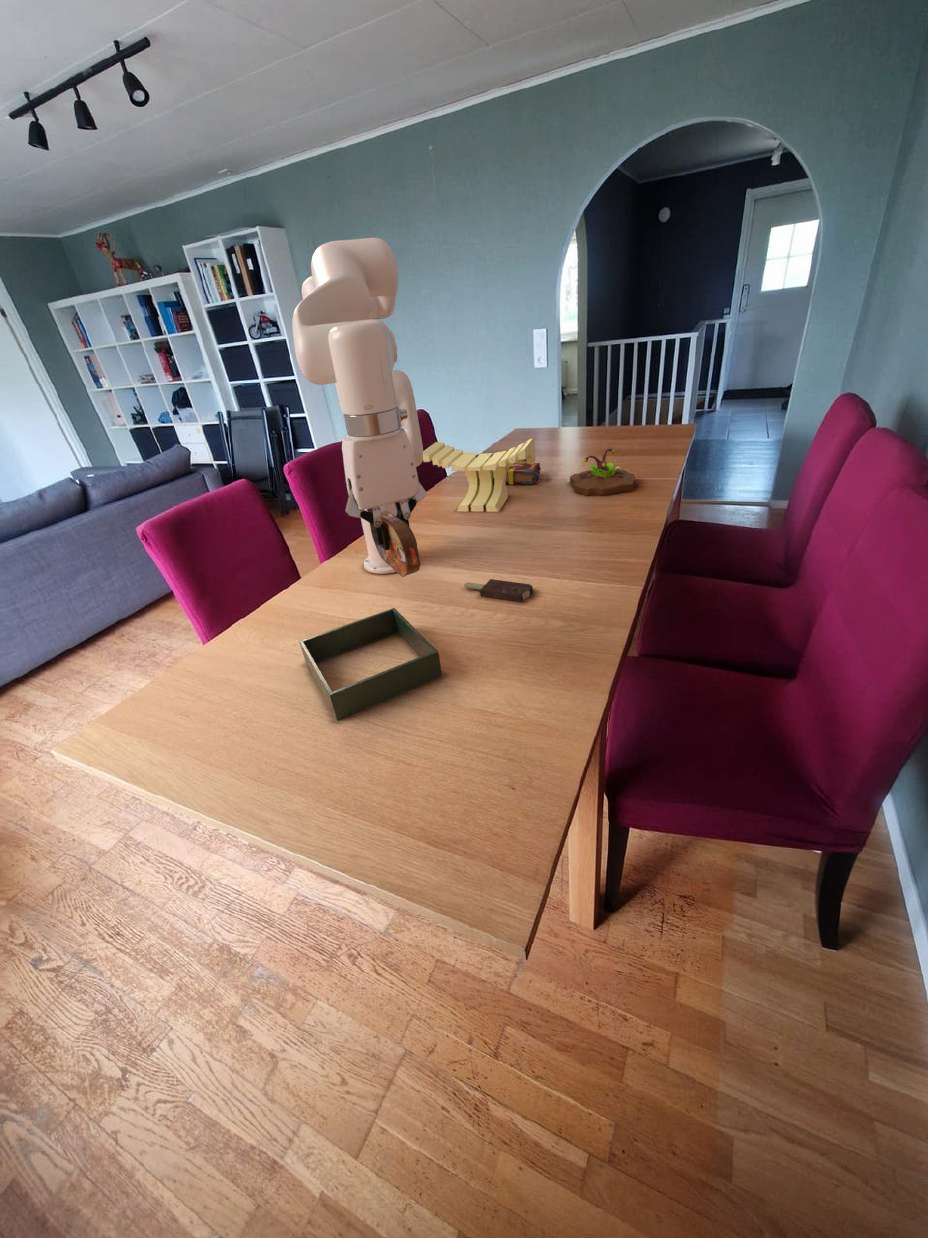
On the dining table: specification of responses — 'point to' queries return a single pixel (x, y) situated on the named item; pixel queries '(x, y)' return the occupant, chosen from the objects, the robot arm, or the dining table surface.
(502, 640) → the dining table surface
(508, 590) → the ice cream bar
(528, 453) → the slatted curved stool
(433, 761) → the dining table surface
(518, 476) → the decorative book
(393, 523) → the tin
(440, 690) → the dining table surface
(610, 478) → the plant
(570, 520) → the dining table surface
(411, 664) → the box
